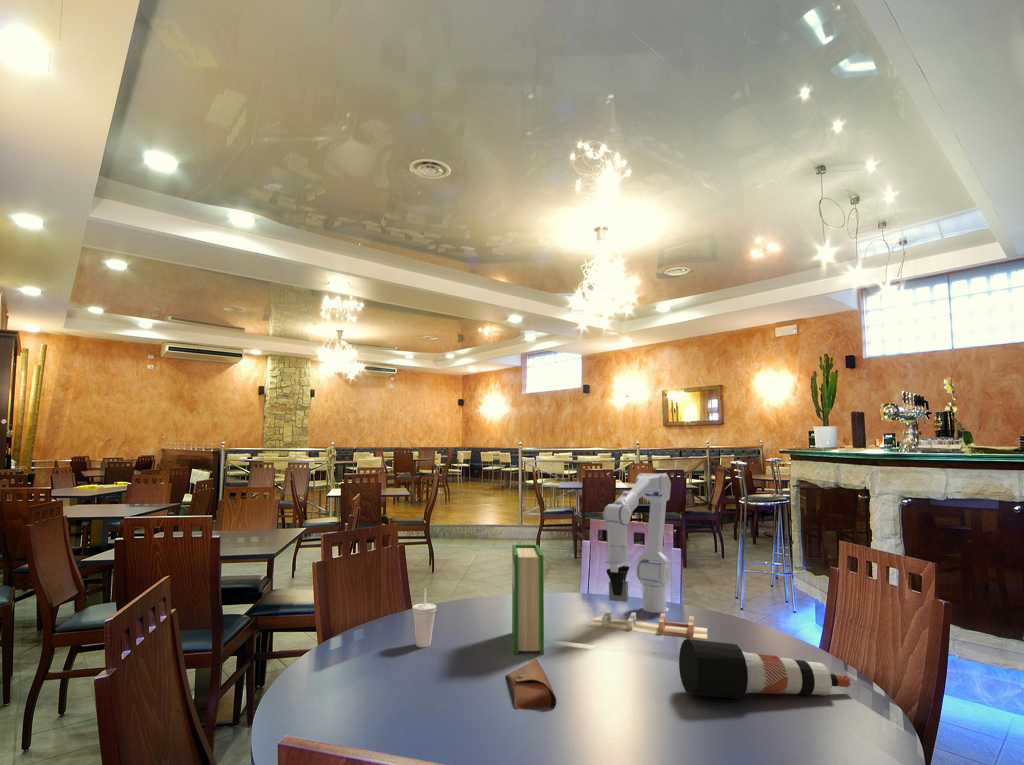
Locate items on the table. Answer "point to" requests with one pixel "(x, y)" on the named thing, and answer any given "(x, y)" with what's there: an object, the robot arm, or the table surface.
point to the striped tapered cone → (749, 672)
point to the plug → (616, 597)
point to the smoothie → (423, 622)
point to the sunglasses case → (531, 687)
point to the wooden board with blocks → (652, 626)
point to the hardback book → (527, 599)
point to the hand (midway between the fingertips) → (618, 593)
